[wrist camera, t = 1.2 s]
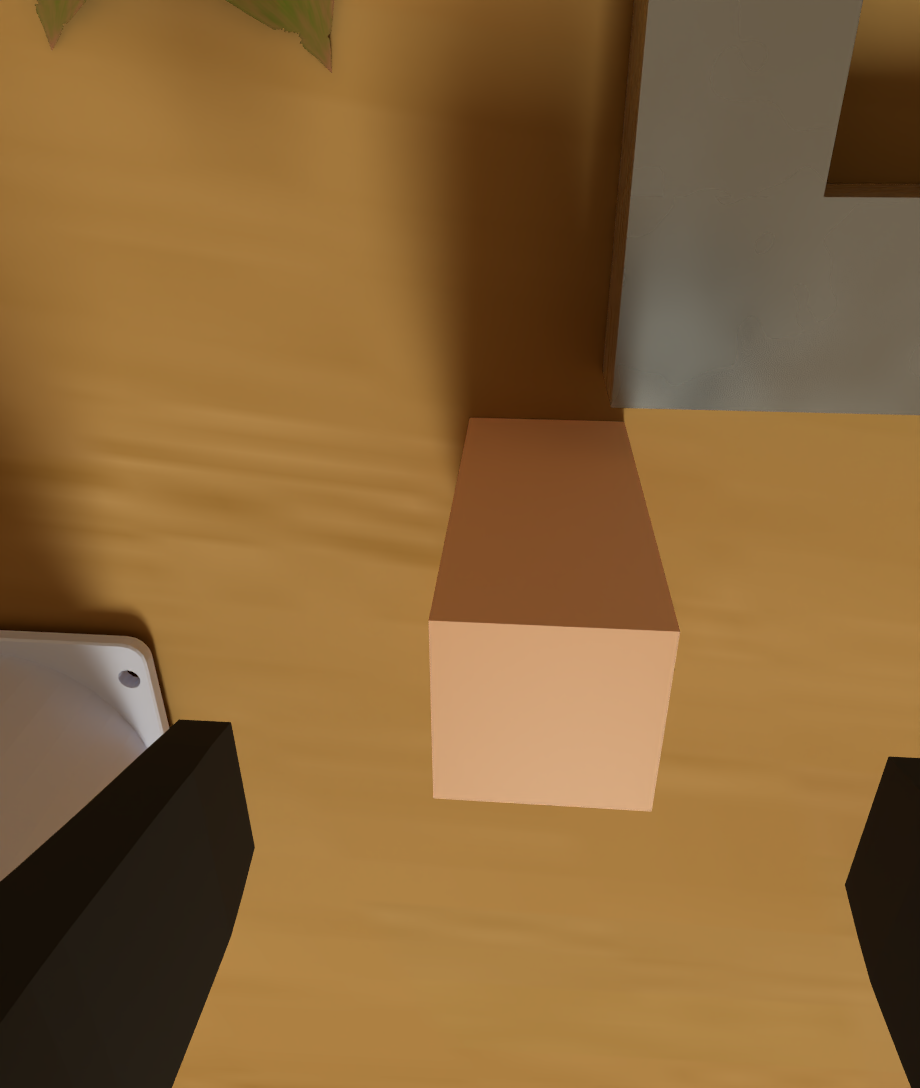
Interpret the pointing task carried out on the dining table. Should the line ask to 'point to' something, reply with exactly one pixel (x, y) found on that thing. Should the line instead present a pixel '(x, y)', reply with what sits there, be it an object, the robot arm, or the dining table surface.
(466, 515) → the tan square peg
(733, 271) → the gray square-hole plate
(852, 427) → the dining table surface
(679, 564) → the dining table surface
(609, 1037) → the dining table surface
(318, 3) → the lily flower
